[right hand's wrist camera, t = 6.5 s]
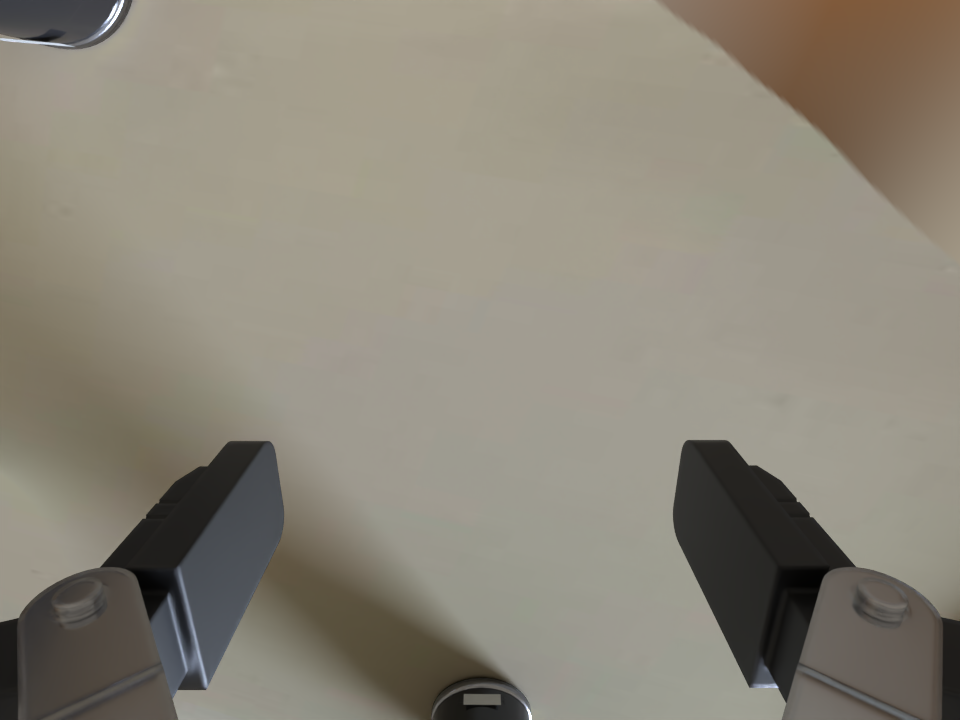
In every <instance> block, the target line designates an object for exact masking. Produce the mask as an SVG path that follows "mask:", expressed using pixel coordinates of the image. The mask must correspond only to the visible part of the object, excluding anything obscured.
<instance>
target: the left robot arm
mask: <svg viewBox="0 0 960 720" xmlns="http://www.w3.org/2000/svg"><path fill="white" fill-rule="evenodd" d="M131 3H132V0H0V34H1V35H6V36H11V37H16V38H20V39H23V40H14V39H2V38H0V40H4V41H11V42H23V43H35V44H41V45H45V46H50V47H55V48H61V49H83V48H87V47H91V46H94V45H96V44H98V43H100V42H102V41H104V40H106V39H107V38H109V37H110V36H111V35H112V34H113V33H114V32H115V31H116V30H117V29H118V28H119V27H120V25H121V24H122V22H123V21H124V19H125V17H126V16H127V14H128V11H129V9H130V6H131ZM26 40H27V41H26Z"/></svg>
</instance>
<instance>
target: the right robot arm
mask: <svg viewBox="0 0 960 720" xmlns="http://www.w3.org/2000/svg"><path fill="white" fill-rule="evenodd" d="M673 522H674V529H675V533H676V537H677V540H678V542H679V544H680V546H681V548H682V550H683V552H684V554H685V556H686V558H687V561H688V563H689V565H690V567H691V569H692V571H693V573H694V575H695V577H696V579H697V581H698V583H699V585H700V587H701V589H702V591H703V593H704V595H705V597H706V599H707V602H708V604H709V606H710V608H711V610H712V612H713V614H714V616H715V618H716V620H717V622H718V624H719V626H720V628H721V630H722V632H723V634H724V636H725V638H726V640H727V643H728V645H729V647H730V649H731V651H732V653H733V655H734V657H735V659H736V661H737V663H738V665H739V667H740V669H741V671H742V673H743V675H744V677H745V679H746V681H747V684H748V686H749V688H778V689H779V691H780V692H781V694H782V696H783V698H784V700H785V702H786V707H785V710H784V714H783V717H782V720H960V621H956V620H951V619H947V618H942V617H940V614H939V613H938V611H937V610H936V608H935V607H934V606H933V605H932V604H931V603H930V602H929V600H927V599H926V598H925V597H924V596H923V595H922V594H920V593H919V592H918V591H916V590H915V589H913V588H912V587H910V586H909V585H907V584H905V583H903V582H901V581H899V580H897V579H895V578H893V577H891V576H888V575H886V574H883V573H880V572H877V571H874V570H869V569H865V568H858V567H856V566H855V565H854V564H853V563H852V562H851V561H850V559H849V558H848V557H847V556H846V555H845V554H844V553H843V551H842V550H841V549H840V548H839V547H838V546H837V545H836V543H835V542H834V541H833V540H832V539H831V538H830V536H829V535H828V534H827V533H826V532H825V531H824V530H823V528H822V527H821V526H820V525H819V524H818V523H817V522H816V520H815V519H814V518H813V517H810V516H809V512H808V511H807V510H806V509H805V508H804V507H803V505H802V504H801V503H800V502H797V500H796V497H795V496H794V495H793V494H792V493H791V492H790V491H789V489H788V488H787V487H786V486H785V485H784V484H783V482H782V481H781V480H779V479H777V478H776V477H774V476H773V475H771V474H769V473H768V472H766V471H765V470H763V469H762V468H760V467H758V466H749V465H748V464H747V463H746V462H745V460H744V459H743V458H742V457H741V456H740V454H739V453H738V452H737V451H736V449H735V448H734V447H733V446H732V444H731V443H730V442H729V441H727V440H687V441H686V442H685V443H684V445H683V448H682V452H681V458H680V465H679V472H678V479H677V486H676V493H675V500H674V507H673ZM283 524H284V507H283V500H282V494H281V487H280V480H279V473H278V467H277V460H276V453H275V449H274V446H273V444H272V443H271V442H270V441H230V442H228V443H227V444H226V445H225V446H224V447H223V449H222V450H221V451H220V452H219V453H218V455H217V456H216V457H215V458H214V460H213V461H212V462H211V463H210V464H209V466H208V467H198V468H197V469H195V470H193V471H192V472H190V473H189V474H187V475H186V476H184V477H182V478H181V479H179V480H178V481H176V482H175V483H174V484H173V485H172V486H171V487H170V488H169V490H168V491H167V492H166V493H165V494H164V495H163V496H162V498H161V499H160V502H159V504H155V506H154V507H153V508H152V509H151V510H150V511H149V512H148V514H147V515H146V519H142V520H141V521H140V523H139V524H138V525H137V526H136V527H135V528H134V529H133V531H132V532H131V533H130V534H129V535H128V536H127V537H126V539H125V540H124V541H123V542H122V543H121V544H120V545H119V547H118V548H117V549H116V550H115V551H114V552H113V553H112V555H111V556H110V557H109V558H108V559H107V560H106V561H105V562H104V564H103V565H102V566H101V567H100V568H95V569H91V570H86V571H83V572H80V573H77V574H74V575H72V576H69V577H67V578H65V579H63V580H61V581H59V582H57V583H55V584H53V585H51V586H50V587H48V588H47V589H45V590H44V591H42V592H41V593H40V594H38V595H37V596H36V597H35V598H34V599H33V600H31V602H30V603H29V604H28V605H27V606H26V607H25V608H24V610H23V611H22V613H21V614H20V617H19V618H17V619H13V620H9V621H4V622H0V720H178V717H177V714H176V710H175V707H174V703H173V700H172V699H173V697H174V695H175V693H176V691H177V690H206V689H207V687H208V685H209V683H210V681H211V679H212V677H213V675H214V673H215V671H216V669H217V667H218V665H219V663H220V661H221V659H222V657H223V655H224V653H225V651H226V649H227V646H228V644H229V642H230V640H231V638H232V636H233V634H234V632H235V630H236V628H237V626H238V624H239V622H240V620H241V618H242V616H243V614H244V612H245V610H246V608H247V606H248V604H249V602H250V600H251V598H252V596H253V594H254V592H255V590H256V588H257V586H258V584H259V582H260V580H261V578H262V576H263V574H264V572H265V570H266V567H267V565H268V563H269V561H270V559H271V557H272V555H273V553H274V551H275V549H276V547H277V545H278V543H279V541H280V538H281V535H282V530H283ZM431 720H531V709H530V705H529V703H528V700H527V699H526V697H525V696H524V695H523V694H522V693H521V692H520V691H519V690H518V689H517V688H515V687H514V686H512V685H510V684H508V683H505V682H503V681H499V680H495V679H488V678H475V679H468V680H464V681H460V682H458V683H455V684H453V685H451V686H449V687H448V688H446V689H445V690H444V691H443V692H442V693H441V694H440V695H439V696H438V697H437V699H436V700H435V702H434V705H433V708H432V718H431Z"/></svg>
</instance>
